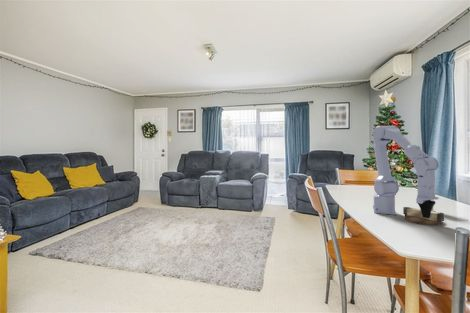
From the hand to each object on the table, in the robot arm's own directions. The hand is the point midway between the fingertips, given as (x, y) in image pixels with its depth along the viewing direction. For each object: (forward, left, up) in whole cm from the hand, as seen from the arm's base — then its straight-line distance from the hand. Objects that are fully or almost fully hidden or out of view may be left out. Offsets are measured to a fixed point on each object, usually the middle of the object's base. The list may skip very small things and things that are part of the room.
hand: (426, 217), depth 100 cm
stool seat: (0, +6, -3) cm, 7 cm away
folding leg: (-1, +3, -1) cm, 3 cm away
